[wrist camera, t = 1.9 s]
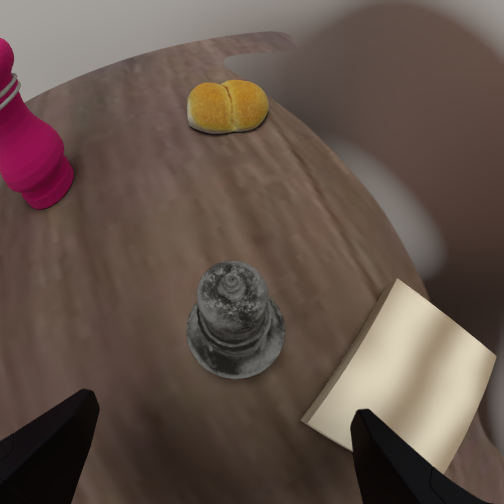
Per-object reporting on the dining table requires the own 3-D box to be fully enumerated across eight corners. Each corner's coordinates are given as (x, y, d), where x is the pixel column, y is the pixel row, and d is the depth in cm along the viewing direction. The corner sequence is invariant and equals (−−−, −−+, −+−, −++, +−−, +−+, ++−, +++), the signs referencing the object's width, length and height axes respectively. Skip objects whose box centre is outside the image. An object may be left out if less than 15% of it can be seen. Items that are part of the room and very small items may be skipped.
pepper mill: (54, 220, 25) (-55, 54, 7) (15, 206, 25) (-79, 72, 7) (90, 164, 28) (21, -3, 10) (48, 157, 28) (-19, 19, 11)
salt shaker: (265, 292, 22) (288, 191, 12) (288, 368, 20) (342, 338, 9) (187, 310, 22) (137, 223, 11) (205, 389, 19) (161, 384, 8)
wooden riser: (478, 361, 20) (496, 356, 18) (416, 485, 15) (432, 491, 13) (383, 289, 23) (397, 278, 20) (299, 420, 18) (307, 423, 16)
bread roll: (275, 131, 31) (279, 102, 27) (190, 143, 29) (186, 113, 26) (257, 90, 34) (259, 64, 30) (185, 99, 33) (182, 73, 29)
